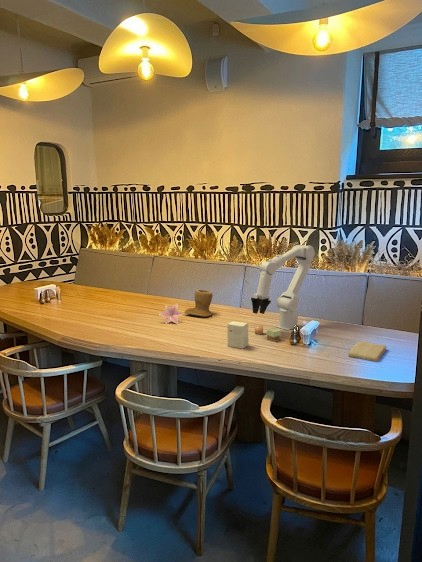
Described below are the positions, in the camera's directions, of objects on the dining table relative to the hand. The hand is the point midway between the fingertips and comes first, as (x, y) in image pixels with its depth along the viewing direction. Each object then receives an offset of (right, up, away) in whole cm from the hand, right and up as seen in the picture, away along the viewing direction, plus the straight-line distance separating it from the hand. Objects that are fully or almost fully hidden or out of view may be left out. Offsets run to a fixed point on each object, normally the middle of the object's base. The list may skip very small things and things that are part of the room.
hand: (258, 313), depth 201 cm
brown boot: (-29, -4, +39) cm, 49 cm away
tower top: (+6, -10, -7) cm, 14 cm away
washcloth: (+44, -16, -25) cm, 53 cm away
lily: (-45, -7, +25) cm, 52 cm away
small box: (-11, -14, -14) cm, 22 cm away
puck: (+1, -10, +3) cm, 11 cm away
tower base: (+6, -12, -6) cm, 15 cm away
